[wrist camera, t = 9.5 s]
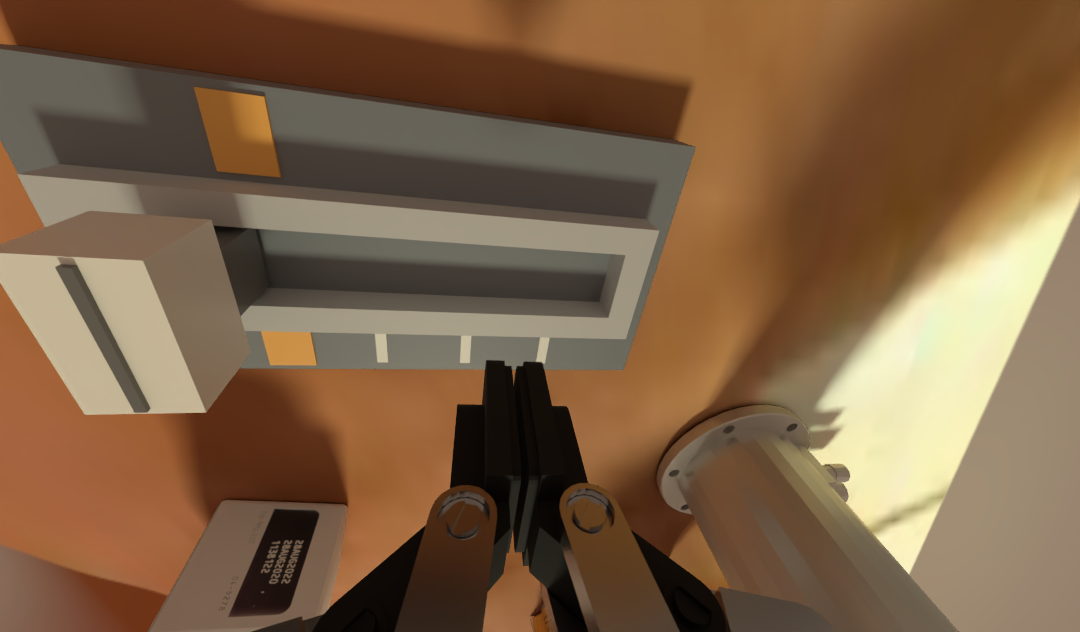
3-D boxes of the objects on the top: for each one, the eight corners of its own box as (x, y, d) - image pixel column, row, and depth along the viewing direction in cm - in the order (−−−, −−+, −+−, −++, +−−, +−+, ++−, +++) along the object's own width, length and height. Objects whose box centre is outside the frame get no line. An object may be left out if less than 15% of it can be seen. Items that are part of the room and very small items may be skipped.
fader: (255, 193, 14) (138, 263, 9) (282, 309, 17) (203, 416, 12) (158, 184, 14) (-28, 255, 8) (202, 307, 16) (80, 418, 11)
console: (673, 139, 18) (714, 153, 15) (612, 349, 24) (632, 387, 21) (15, 44, 13) (-117, 38, 10) (151, 341, 19) (94, 391, 16)
